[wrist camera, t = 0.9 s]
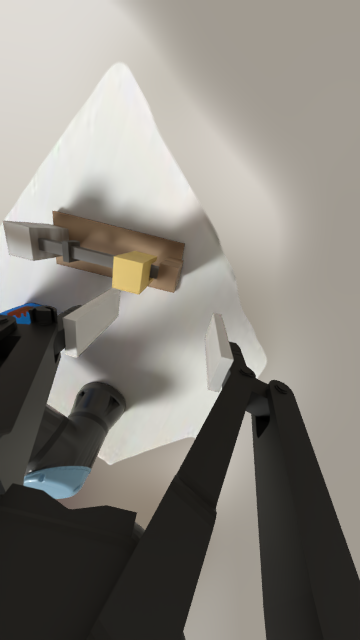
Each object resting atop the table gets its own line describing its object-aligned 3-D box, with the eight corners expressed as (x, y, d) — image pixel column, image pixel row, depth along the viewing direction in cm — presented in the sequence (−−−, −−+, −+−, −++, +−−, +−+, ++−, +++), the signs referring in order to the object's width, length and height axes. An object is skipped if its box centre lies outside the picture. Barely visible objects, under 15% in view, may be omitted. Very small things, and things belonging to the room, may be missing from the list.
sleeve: (153, 280, 34) (139, 294, 26) (132, 275, 34) (111, 287, 26) (157, 256, 32) (143, 263, 24) (135, 250, 32) (113, 256, 24)
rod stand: (176, 291, 40) (169, 309, 31) (56, 261, 40) (12, 270, 30) (187, 244, 36) (183, 247, 26) (51, 210, 35) (-1, 201, 26)
